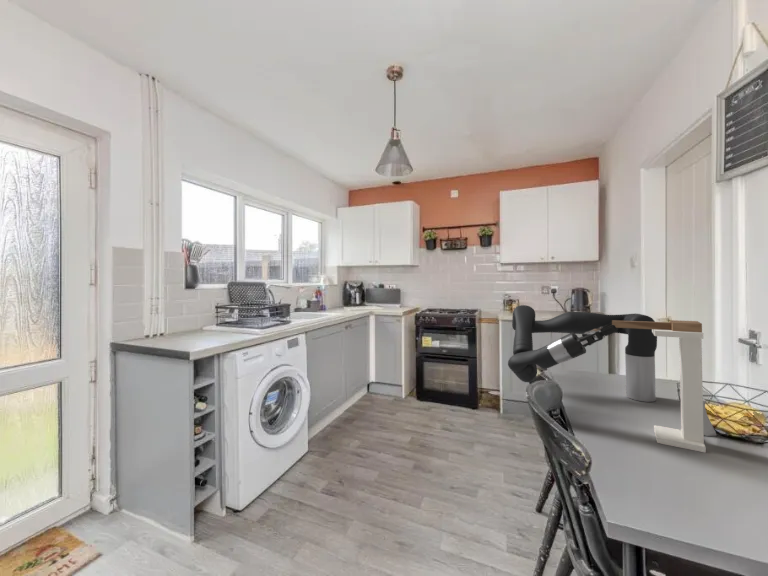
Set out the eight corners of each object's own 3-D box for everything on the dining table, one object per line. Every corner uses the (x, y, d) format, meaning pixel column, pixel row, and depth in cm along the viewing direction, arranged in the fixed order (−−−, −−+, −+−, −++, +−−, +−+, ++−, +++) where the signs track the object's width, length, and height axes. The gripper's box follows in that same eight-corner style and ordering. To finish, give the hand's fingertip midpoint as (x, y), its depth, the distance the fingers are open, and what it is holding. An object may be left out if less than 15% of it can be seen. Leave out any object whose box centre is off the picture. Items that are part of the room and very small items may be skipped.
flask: (723, 437, 95) (722, 403, 95) (693, 436, 96) (693, 402, 96) (704, 427, 102) (703, 395, 102) (677, 425, 104) (676, 394, 104)
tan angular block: (612, 325, 106) (612, 318, 106) (697, 329, 94) (696, 321, 94) (612, 328, 100) (611, 320, 100) (702, 332, 88) (701, 323, 88)
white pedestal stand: (654, 429, 101) (651, 326, 101) (698, 438, 95) (696, 328, 95) (657, 442, 93) (654, 330, 93) (705, 452, 87) (703, 333, 87)
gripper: (575, 354, 114) (624, 333, 106) (570, 362, 103) (624, 339, 95) (562, 335, 117) (609, 313, 108) (556, 341, 105) (607, 317, 97)
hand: (616, 325), depth 102 cm, fingers open, 8 cm apart
